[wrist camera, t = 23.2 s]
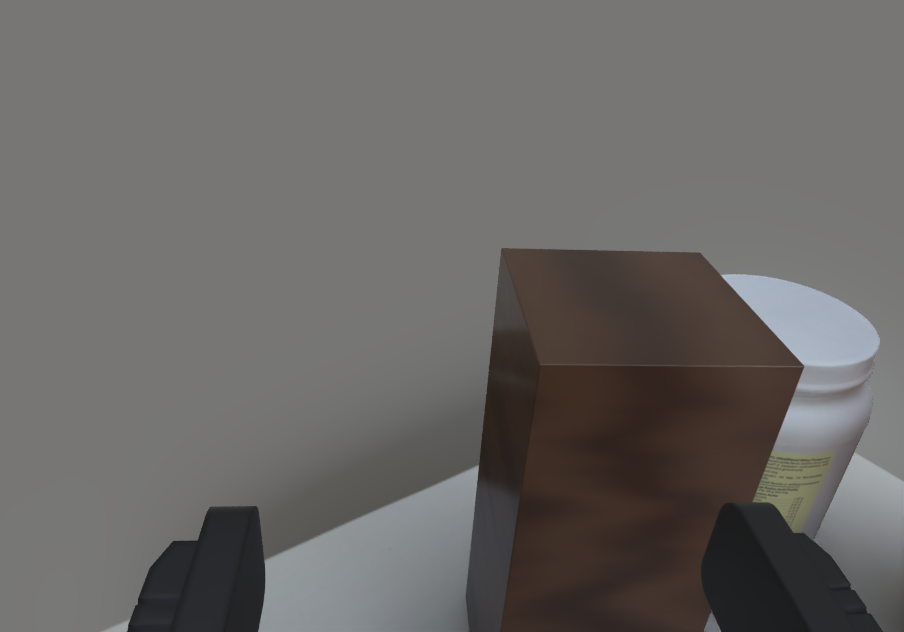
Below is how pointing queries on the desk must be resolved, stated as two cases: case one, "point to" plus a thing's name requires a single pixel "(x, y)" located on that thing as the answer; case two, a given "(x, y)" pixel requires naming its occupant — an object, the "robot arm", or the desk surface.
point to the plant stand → (616, 438)
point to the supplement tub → (813, 394)
